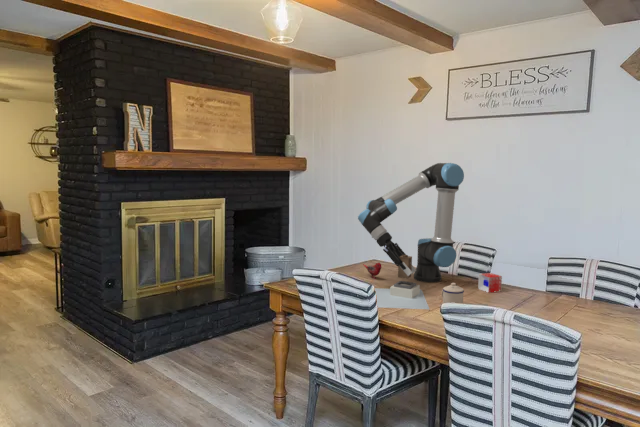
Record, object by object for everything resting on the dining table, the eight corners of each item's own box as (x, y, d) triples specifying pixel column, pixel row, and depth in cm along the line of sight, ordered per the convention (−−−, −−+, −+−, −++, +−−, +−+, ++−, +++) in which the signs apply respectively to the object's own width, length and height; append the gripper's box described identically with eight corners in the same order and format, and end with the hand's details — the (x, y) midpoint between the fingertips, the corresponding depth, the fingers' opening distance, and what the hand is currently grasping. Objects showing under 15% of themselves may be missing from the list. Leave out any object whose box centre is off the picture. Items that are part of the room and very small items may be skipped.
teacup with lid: (467, 310, 207) (468, 284, 205) (451, 313, 203) (452, 286, 202) (449, 303, 218) (450, 278, 216) (433, 305, 214) (434, 280, 213)
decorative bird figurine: (379, 281, 256) (379, 263, 255) (360, 274, 271) (360, 257, 270) (383, 280, 258) (383, 263, 256) (364, 274, 273) (365, 257, 272)
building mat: (421, 291, 237) (421, 289, 237) (429, 311, 205) (429, 309, 205) (373, 289, 240) (374, 288, 239) (374, 308, 208) (374, 307, 208)
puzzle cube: (501, 291, 238) (501, 276, 237) (488, 292, 235) (489, 277, 234) (490, 287, 245) (491, 272, 245) (478, 288, 243) (478, 273, 242)
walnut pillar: (401, 275, 231) (402, 253, 230) (411, 276, 229) (412, 254, 228) (397, 277, 227) (398, 255, 226) (407, 278, 225) (408, 256, 223)
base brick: (398, 289, 237) (398, 279, 236) (419, 293, 231) (419, 282, 230) (390, 295, 227) (390, 284, 227) (411, 298, 222) (412, 287, 221)
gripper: (383, 238, 242) (413, 274, 235) (368, 243, 226) (399, 281, 220) (393, 229, 239) (423, 265, 232) (379, 233, 223) (411, 272, 216)
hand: (412, 273), depth 226 cm, fingers closed on walnut pillar, 5 cm apart
